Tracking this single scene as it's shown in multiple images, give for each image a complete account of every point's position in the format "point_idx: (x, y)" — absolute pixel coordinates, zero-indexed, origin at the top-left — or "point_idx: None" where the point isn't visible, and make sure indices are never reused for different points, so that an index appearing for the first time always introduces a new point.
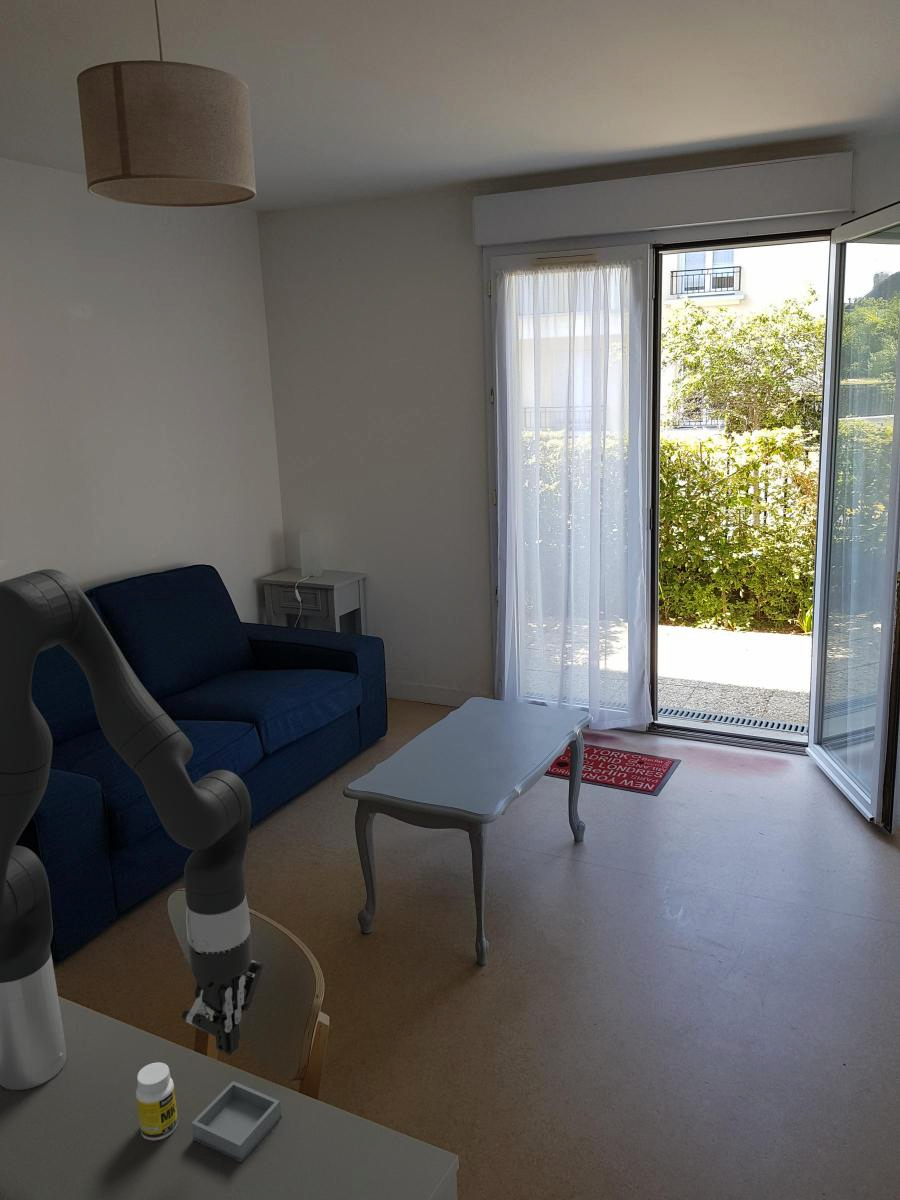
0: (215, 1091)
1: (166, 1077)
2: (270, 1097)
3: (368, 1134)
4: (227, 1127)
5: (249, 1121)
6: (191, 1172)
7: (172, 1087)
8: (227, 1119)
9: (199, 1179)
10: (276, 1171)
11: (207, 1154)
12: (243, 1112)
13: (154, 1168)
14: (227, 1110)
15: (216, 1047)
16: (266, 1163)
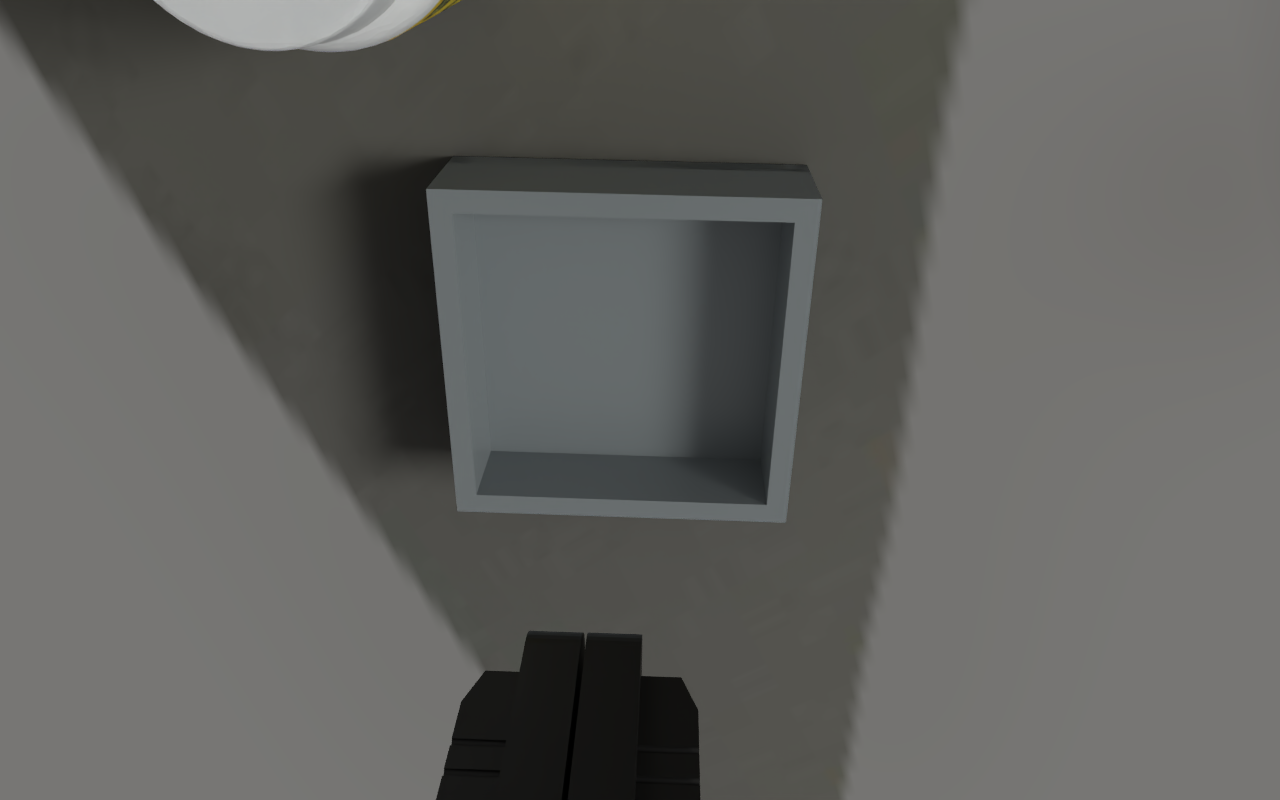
0: (803, 17)
1: (300, 47)
2: (787, 471)
3: (830, 769)
4: (586, 298)
5: (671, 372)
6: (307, 286)
7: (396, 31)
8: (630, 263)
9: (304, 345)
10: (521, 590)
11: (427, 286)
12: (708, 309)
13: (203, 92)
14: (683, 221)
15: (462, 702)
16: (531, 539)
